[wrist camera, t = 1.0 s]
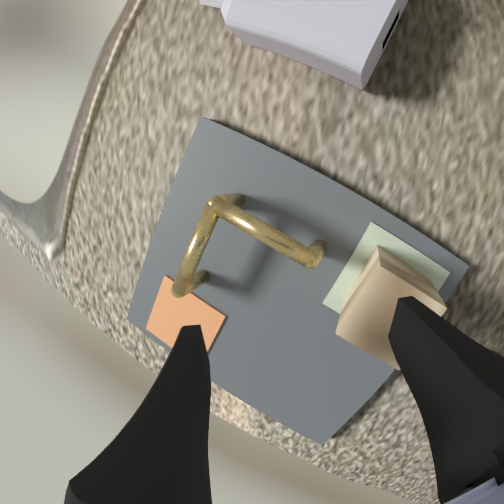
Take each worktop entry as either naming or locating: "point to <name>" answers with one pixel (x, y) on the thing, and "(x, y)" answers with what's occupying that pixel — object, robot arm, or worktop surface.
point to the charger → (317, 31)
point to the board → (276, 280)
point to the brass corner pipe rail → (233, 214)
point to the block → (382, 302)
